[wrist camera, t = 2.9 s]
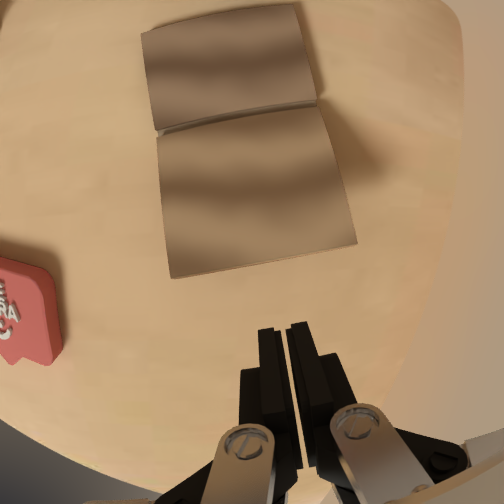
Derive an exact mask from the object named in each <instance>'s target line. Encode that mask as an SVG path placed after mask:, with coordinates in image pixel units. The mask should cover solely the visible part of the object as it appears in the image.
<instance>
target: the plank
mask: <svg viewBox="0 0 504 504" xmlns="http://www.w3.org/2000/svg"><path fill="white" fill-rule="evenodd" d="M157 153H158V168H159V181H160V193H161V204H162V214H163V223H164V232H165V240H166V248H167V256H168V263H169V270H170V277H171V279H180V278H186V277H191V276H197V275H203V274H208V273H214V272H219V271H225V270H230V269H236V268H241V267H247V266H252V265H258V264H263V263H268V262H274V261H279V260H284V259H290V258H295V257H300V256H306V255H311V254H316V253H321V252H327V251H332V250H337V249H342V248H347V247H352V246H355V245H357V244H358V242H357V238H356V233H355V229H354V225H353V221H352V217H351V213H350V209H349V205H348V201H347V197H346V193H345V189H344V186H343V182H342V179H341V175H340V172H339V168H338V165H337V161H336V158H335V155H334V151H333V148H332V145H331V142H330V138H329V135H328V132H327V129H326V126H325V123H324V120H323V117H322V114H321V111H320V109H319V107H311V108H302V109H294V110H287V111H279V112H273V113H266V114H260V115H254V116H248V117H243V118H238V119H232V120H227V121H222V122H218V123H213V124H208V125H204V126H200V127H195V128H191V129H187V130H183V131H179V132H175V133H171V134H168V135H164V136H160V137H157Z"/></svg>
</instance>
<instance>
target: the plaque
mask: <svg viewBox="0 0 504 504" xmlns="http://www.w3.org/2000/svg"><path fill="white" fill-rule="evenodd" d="M62 348H63V344H62V338H61V332H60V325H59V317H58V309H57V300H56V290H55V284H54V281H53V279H52V277H51V275H50V274H49V273H48V272H47V271H46V270H44V269H43V268H39V267H35V266H32V265H28V264H24V263H21V262H17V261H14V260H10V259H7V258H3V257H0V354H1V355H2V356H3V358H4V359H5V360H6V361H7V362H8V364H10V365H14V364H15V363H16V362H17V361H19V360H20V359H21V358H22V357H25V358H27V359H29V360H32V361H34V362H37V363H39V364H42V365H44V366H49V365H51V364H52V363H53V361H54V360H55V359H56V358H57V357H58V355H59V354H60V353H61V351H62Z"/></svg>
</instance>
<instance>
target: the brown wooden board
mask: <svg viewBox="0 0 504 504" xmlns="http://www.w3.org/2000/svg"><path fill="white" fill-rule="evenodd" d="M141 41H142V49H143V57H144V64H145V71H146V78H147V85H148V91H149V97H150V103H151V109H152V115H153V121H154V126H155V130H156V131H158V137H160V136H164V135H168V134H171V133H175V132H179V131H183V130H187V129H191V128H195V127H200V126H204V125H208V124H213V123H218V122H222V121H227V120H232V119H238V118H243V117H248V116H254V115H260V114H266V113H273V112H279V111H287V110H294V109H302V108H311V107H317V105H316V100H317V95H316V91H315V86H314V82H313V78H312V73H311V69H310V65H309V61H308V57H307V53H306V49H305V45H304V41H303V38H302V34H301V30H300V27H299V23H298V20H297V16H296V13H295V10H294V6H293V4H287V5H274V6H264V7H256V8H248V9H241V10H234V11H228V12H223V13H217V14H212V15H207V16H203V17H198V18H194V19H190V20H186V21H182V22H178V23H174V24H170V25H167V26H163V27H160V28H157V29H153V30H150V31H147V32H144V33H141Z"/></svg>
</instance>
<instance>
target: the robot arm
mask: <svg viewBox="0 0 504 504" xmlns="http://www.w3.org/2000/svg"><path fill="white" fill-rule="evenodd" d="M286 336H287V342H288V348H289V355H290V361H291V367H292V374H293V380H294V387H295V393H296V398H297V403H298V409H299V414H300V420H301V425H302V431H303V436H304V442H305V447H306V453H307V458H308V464H309V467H314V466H316V470H317V475H318V474H319V477H320V478H323V479H325V480H327V481H329V482H331V485H332V488H333V490H334V493H335V495H336V497H337V499H338V501H339V504H504V428H503V429H500V430H497V431H495V432H491V433H488V434H485V435H482V436H479V437H475V438H472V439H468V440H465V442H464V444H461V445H457V444H454V443H451V442H447V441H443V440H438V439H434V438H430V437H427V436H423V435H419V434H415V433H412V432H408V431H405V430H401V429H398V428H394V427H393V426H392V424H391V423H390V422H389V420H388V419H387V418H386V416H385V415H384V413H383V412H382V411H381V410H380V409H379V408H377V407H375V406H373V405H370V404H365V403H357V401H356V398H355V396H354V393H353V391H352V389H351V386H350V384H349V381H348V379H347V377H346V374H345V372H344V369H343V367H342V365H341V362H340V360H339V358H338V356H337V354H336V353H331V354H327V355H322V356H318V353H317V350H316V347H315V344H314V341H313V338H312V335H311V332H310V329H309V326H308V324H307V321H305V322H299V323H294V324H291V328H290V329H286ZM258 343H259V363H260V367H257V368H250V369H243V370H241V373H240V401H239V426H236V427H233V428H232V429H230V430H228V431H227V432H226V433H225V434H224V435H223V436H222V437H221V439H220V441H219V443H218V447H217V450H216V454H215V457H214V460H212V461H211V462H210V463H208V464H207V465H206V466H204V467H203V468H201V469H200V470H199V471H197V472H196V473H194V474H193V475H192V476H190V477H189V478H187V479H186V480H184V481H183V482H181V483H180V484H178V485H177V486H175V487H174V488H172V489H171V490H169V491H168V492H166V493H165V494H163V495H162V496H160V497H159V498H158V499H157V500H155V501H149V500H148V499H147V498H146V499H133V500H114V501H113V500H110V501H88V502H85V503H84V504H287V503H288V490H289V489H290V488H291V487H292V486H293V485H294V484H295V483H296V482H297V478H298V476H297V470H298V469H303V462H302V456H301V449H300V443H299V436H298V430H297V424H296V417H295V411H294V405H293V399H292V393H291V388H290V382H289V376H288V370H287V365H286V359H285V353H284V348H283V342H282V336H281V331H280V330H279V331H274V327H272V328H267V329H261V330H258Z"/></svg>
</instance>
